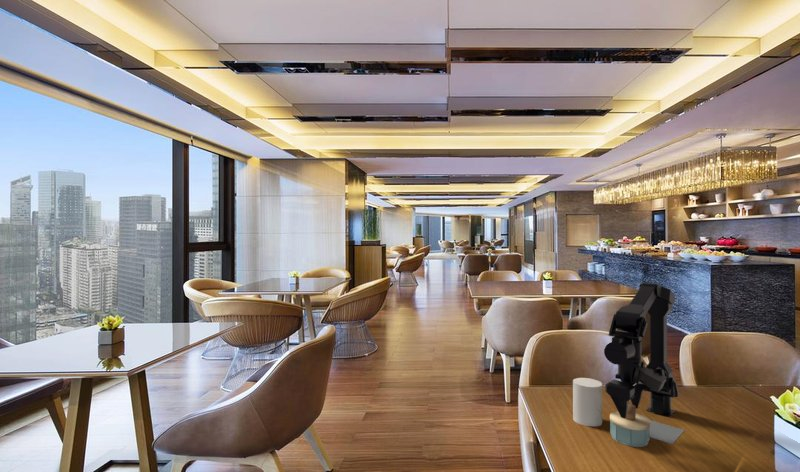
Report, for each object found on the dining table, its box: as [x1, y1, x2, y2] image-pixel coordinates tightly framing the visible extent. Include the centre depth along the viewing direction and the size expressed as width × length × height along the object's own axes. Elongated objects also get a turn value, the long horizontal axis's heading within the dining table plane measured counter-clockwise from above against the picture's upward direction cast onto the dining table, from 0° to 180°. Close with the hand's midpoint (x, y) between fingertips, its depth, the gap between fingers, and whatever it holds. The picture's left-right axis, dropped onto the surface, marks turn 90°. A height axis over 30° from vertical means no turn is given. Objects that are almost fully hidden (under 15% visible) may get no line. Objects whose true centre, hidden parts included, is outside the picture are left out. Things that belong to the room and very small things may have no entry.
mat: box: [649, 419, 686, 445], centre depth 124 cm, size 12×12×1 cm
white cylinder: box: [572, 377, 603, 427], centre depth 130 cm, size 8×8×12 cm
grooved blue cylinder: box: [609, 420, 651, 448], centre depth 119 cm, size 9×9×5 cm
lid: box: [609, 403, 652, 430], centre depth 118 cm, size 10×10×4 cm
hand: (629, 413), depth 118 cm, fingers open, 9 cm apart
